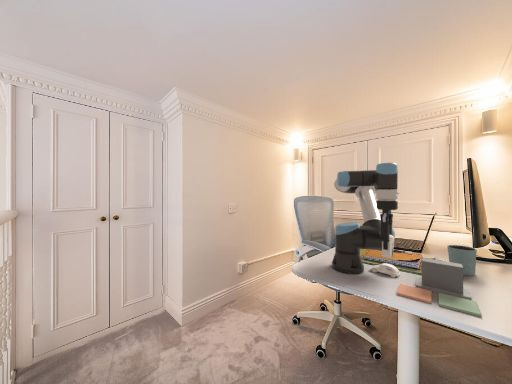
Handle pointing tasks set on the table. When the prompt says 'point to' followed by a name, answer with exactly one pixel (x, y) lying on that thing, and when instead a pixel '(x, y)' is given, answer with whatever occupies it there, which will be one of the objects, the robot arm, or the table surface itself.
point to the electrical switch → (435, 258)
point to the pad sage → (459, 304)
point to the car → (386, 269)
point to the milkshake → (391, 245)
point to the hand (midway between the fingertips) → (386, 255)
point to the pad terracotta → (415, 293)
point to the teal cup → (463, 258)
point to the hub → (443, 278)
